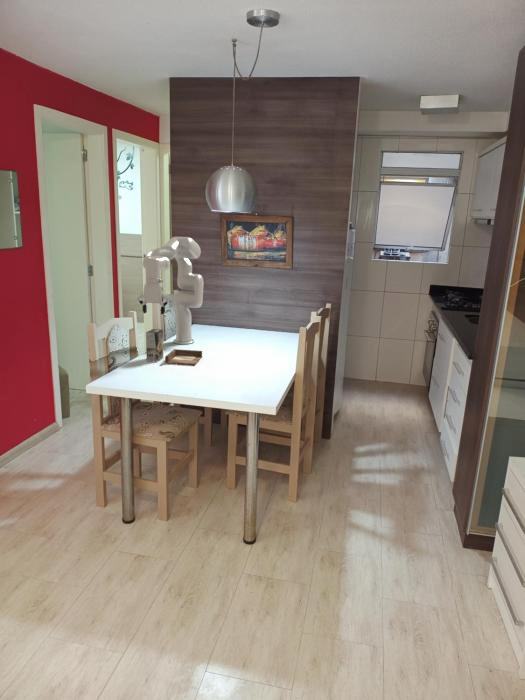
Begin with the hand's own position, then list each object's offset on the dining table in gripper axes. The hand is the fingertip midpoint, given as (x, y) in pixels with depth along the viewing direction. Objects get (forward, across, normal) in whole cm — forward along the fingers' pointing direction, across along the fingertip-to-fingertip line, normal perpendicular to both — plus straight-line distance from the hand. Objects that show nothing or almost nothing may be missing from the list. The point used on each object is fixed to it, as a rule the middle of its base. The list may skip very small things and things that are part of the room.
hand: (153, 313), depth 280 cm
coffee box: (+26, 0, 0) cm, 26 cm away
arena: (+26, -16, -1) cm, 30 cm away
